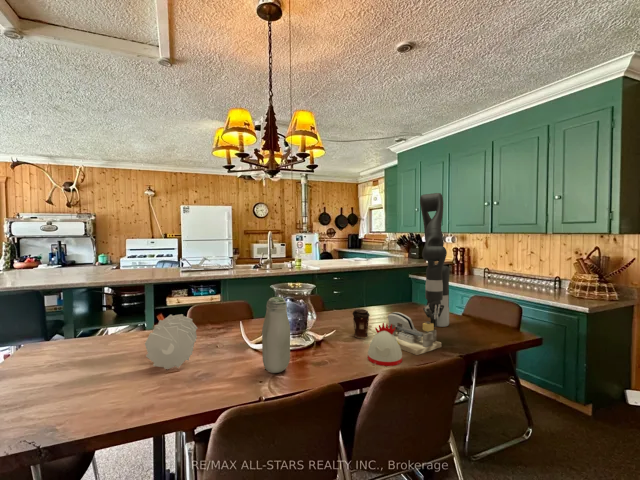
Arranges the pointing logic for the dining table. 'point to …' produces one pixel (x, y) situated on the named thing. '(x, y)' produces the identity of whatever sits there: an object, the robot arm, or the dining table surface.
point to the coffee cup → (361, 323)
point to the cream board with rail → (416, 341)
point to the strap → (410, 330)
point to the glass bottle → (276, 336)
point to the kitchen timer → (385, 348)
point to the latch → (428, 326)
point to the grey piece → (400, 320)
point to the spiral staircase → (171, 341)
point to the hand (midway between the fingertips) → (433, 326)
